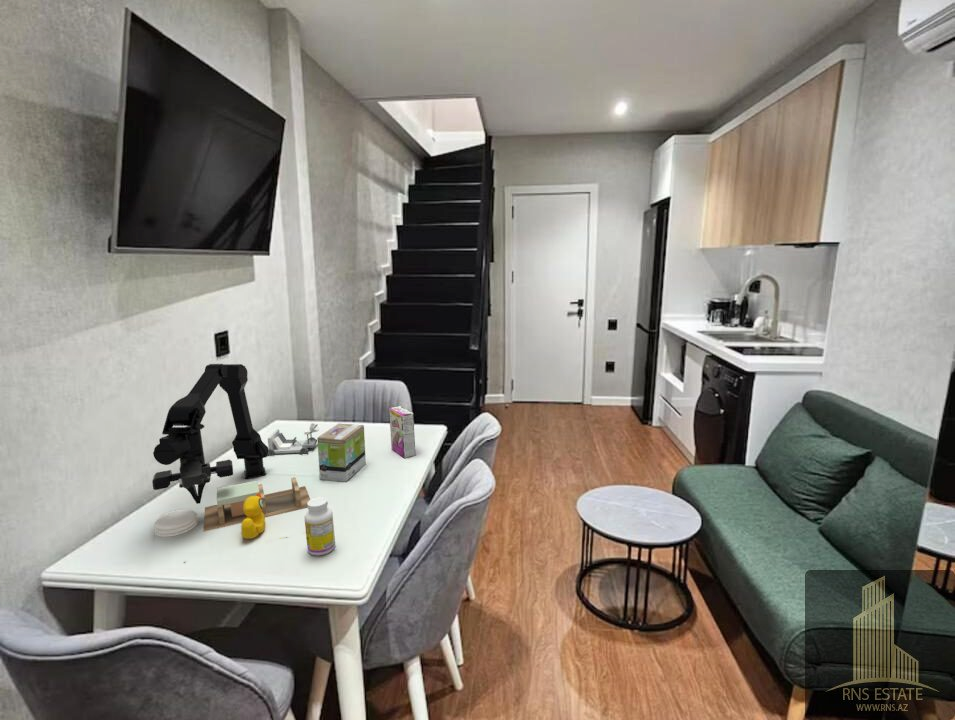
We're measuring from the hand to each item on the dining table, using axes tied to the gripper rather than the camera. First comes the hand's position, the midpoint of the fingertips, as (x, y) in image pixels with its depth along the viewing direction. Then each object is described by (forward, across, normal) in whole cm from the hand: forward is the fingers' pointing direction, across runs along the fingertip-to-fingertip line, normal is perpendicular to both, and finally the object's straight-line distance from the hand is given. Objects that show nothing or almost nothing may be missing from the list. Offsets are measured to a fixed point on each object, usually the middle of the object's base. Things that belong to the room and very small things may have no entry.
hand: (198, 503), depth 137 cm
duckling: (+6, +13, -14) cm, 20 cm away
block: (+5, +10, 0) cm, 11 cm away
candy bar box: (+6, +65, +20) cm, 69 cm away
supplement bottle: (+6, +27, -30) cm, 41 cm away
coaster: (+6, -6, -1) cm, 9 cm away
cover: (0, +10, 0) cm, 10 cm away
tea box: (+6, +42, +14) cm, 45 cm away
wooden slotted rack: (+6, +15, 0) cm, 16 cm away
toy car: (+7, +30, +44) cm, 54 cm away
